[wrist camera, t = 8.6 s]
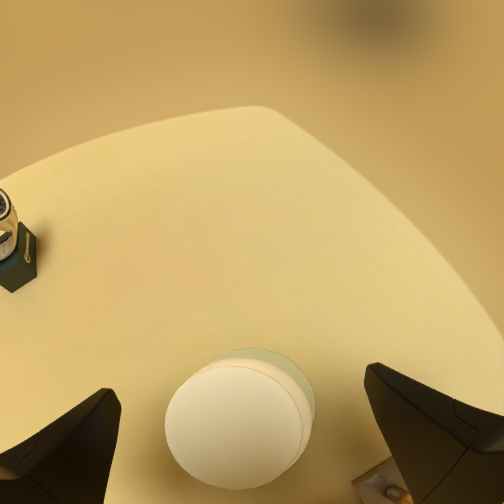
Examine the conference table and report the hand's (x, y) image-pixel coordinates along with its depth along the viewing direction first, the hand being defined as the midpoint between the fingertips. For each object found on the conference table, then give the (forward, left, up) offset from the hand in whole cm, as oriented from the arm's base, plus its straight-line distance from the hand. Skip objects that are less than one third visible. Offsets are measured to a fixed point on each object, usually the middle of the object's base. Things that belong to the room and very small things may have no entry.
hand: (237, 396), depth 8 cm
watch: (+19, +18, -10) cm, 28 cm away
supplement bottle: (-1, 0, -8) cm, 9 cm away
